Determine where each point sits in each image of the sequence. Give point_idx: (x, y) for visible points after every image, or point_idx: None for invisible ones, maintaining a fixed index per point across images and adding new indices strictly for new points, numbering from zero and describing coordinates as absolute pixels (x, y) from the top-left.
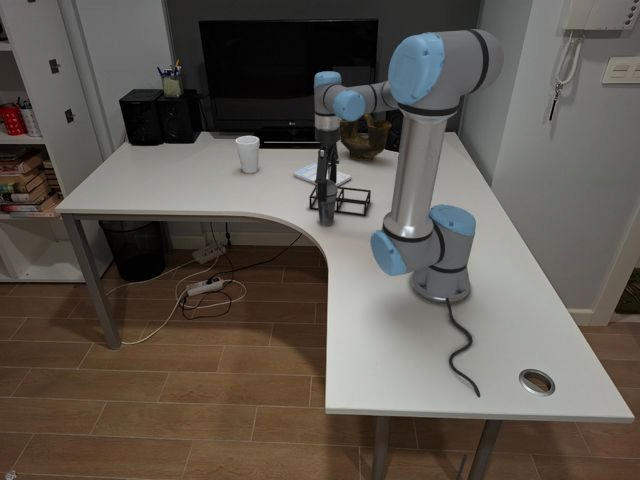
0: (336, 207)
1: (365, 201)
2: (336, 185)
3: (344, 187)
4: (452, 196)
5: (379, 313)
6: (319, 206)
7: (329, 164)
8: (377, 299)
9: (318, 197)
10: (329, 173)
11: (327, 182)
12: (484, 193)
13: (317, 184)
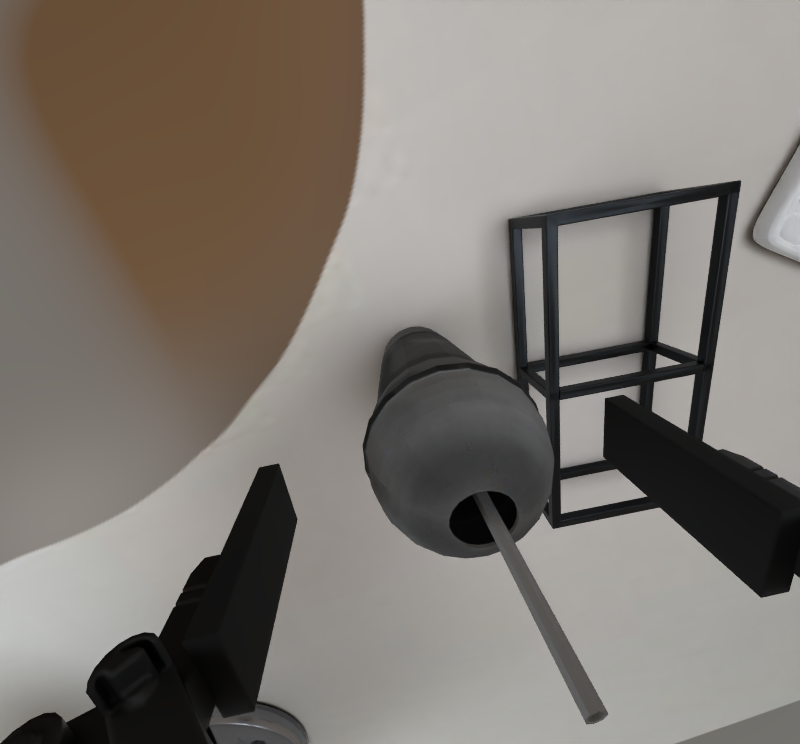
0: (528, 375)
1: (570, 520)
2: (795, 258)
3: (710, 373)
4: (732, 656)
5: (12, 689)
6: (386, 375)
7: (794, 520)
8: (64, 668)
9: (250, 495)
10: (530, 609)
11: (448, 537)
12: (760, 708)
13: (735, 189)
